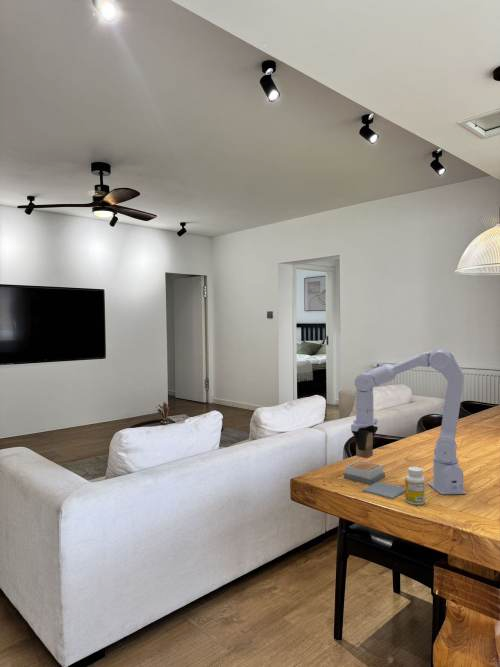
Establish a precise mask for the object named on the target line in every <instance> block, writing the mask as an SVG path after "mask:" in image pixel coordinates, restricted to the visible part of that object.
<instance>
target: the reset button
mask: <svg viewBox="0 0 500 667" xmlns="http://www.w3.org/2000/svg"><path fill="white" fill-rule="evenodd" d="M361 461H362V460H360V462H358V463H356V464H353V465H351V466H350V467H355V468H359V469H363V470H368V471H370V470H372V469H374V468H376V467H378V466H379V465H380V464H379V465H374V464H375V463H374V464H370V463H371V462H370V463H365V462H366V461H365V462H361Z"/></svg>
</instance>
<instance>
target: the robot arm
mask: <svg viewBox="0 0 500 667" xmlns="http://www.w3.org/2000/svg"><path fill="white" fill-rule="evenodd" d="M419 367H422V368H423V367H424V368H429V367H431V368H433V369H434V370H435V371H437V372H439V373H441V375H442V376H443V377H444V378H445V380H447V386H446V392H445V400H444V407H443V413H442V420H441V426H440V432H439V437H438V439H437V440H436V441H435V447H434V448H433V454H434V456H433V462H432V464H433V465H432V466H433V468H432V470H433V471H432V472H433V476H432V479H433V480H432V482H428V483H427V484H428V485H429V486H430V487H431V488H433V489H434V490H435V491H437V492H438V493H439V494H440V495H464V494H465V495H466V494H467V491H465V489H464V471H463V470H462V469H461V468H460V466H459V459H458V458H457V449H458V446H457V443H456V434H457V429H458V421H459V415H460V409H461V403H462V402H461V400H462V396H463V395H462V394H463V388H464V382H465V375H464V373H463V371H462V369H461V367H460V365H459V363H458V362H457V359H456V358H455V356H454V355H453V354H452V353H451V352H450V351H449V350H447V349H445V348H437V349H435V350H431V351H426V352H422V353H419V354H417V355H414V356H412V357H410V358H409V357H408V358H407V359H405V360H403V361H401V362H398V363H396V364H394V365H391V364H389V363H381V364H379V365H378V366H377V367H376V368H373V369H367V370H366V372H363V373H360V374H359V375H357V376H356V377H355V379H354V386H355V388H356V394H355V419H353V420H352V422H353V423H352V424H350V427H351V428H350V430H351V433H352V435H353V437H354V439H355V442H356V443H357V447H358V450H362V451H364V450H365V446H366V438H367V435H368V433H369V432H373V439H374V438H375V436H376V433H377V431H378V429H379V428H378V426H376V425H378V418H374V387H379V386H381V385H385V384H387V383H389V382H392V381H395V379H396V376H397V375H399V374H400V373H404V372H406V371H409V370H412V369H415V368H419ZM356 443H355V444H356Z"/></svg>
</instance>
